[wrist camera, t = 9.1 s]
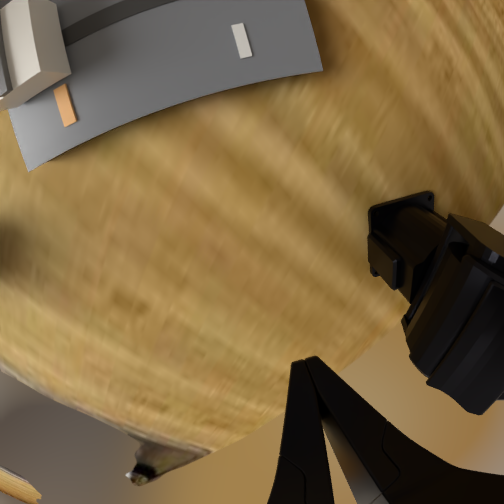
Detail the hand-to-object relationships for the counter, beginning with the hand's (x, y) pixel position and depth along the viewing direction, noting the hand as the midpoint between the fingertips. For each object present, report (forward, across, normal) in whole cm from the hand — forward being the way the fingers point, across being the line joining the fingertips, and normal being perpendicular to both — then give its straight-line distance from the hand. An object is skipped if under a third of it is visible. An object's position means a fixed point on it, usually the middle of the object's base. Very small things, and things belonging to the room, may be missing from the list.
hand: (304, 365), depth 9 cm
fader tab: (+10, +10, -14) cm, 20 cm away
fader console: (+13, +4, -15) cm, 20 cm away
